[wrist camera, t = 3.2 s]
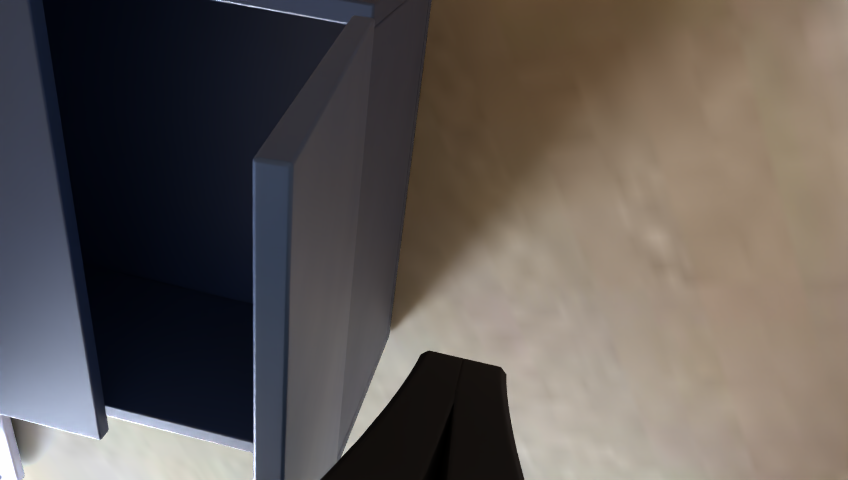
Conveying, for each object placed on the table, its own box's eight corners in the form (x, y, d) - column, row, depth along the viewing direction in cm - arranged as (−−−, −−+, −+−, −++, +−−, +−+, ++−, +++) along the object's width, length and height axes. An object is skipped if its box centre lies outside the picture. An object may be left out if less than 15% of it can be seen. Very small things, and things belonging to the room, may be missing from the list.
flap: (351, 14, 10) (375, 17, 10) (318, 494, 16) (333, 496, 16) (250, 156, 6) (293, 163, 6) (253, 762, 11) (275, 765, 11)
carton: (437, -43, 15) (361, 13, 10) (389, 336, 21) (324, 499, 16) (-3, -116, 16) (-277, -100, 11) (62, 261, 22) (-101, 390, 17)
